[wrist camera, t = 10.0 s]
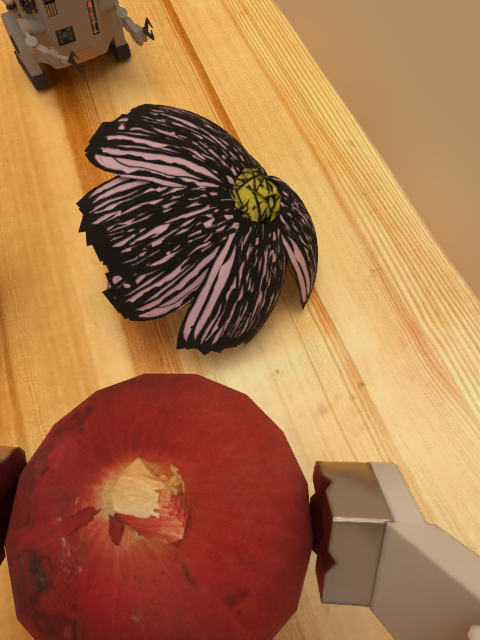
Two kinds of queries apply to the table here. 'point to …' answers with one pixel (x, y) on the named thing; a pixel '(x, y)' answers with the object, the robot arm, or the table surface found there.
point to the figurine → (67, 33)
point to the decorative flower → (193, 227)
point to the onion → (160, 518)
